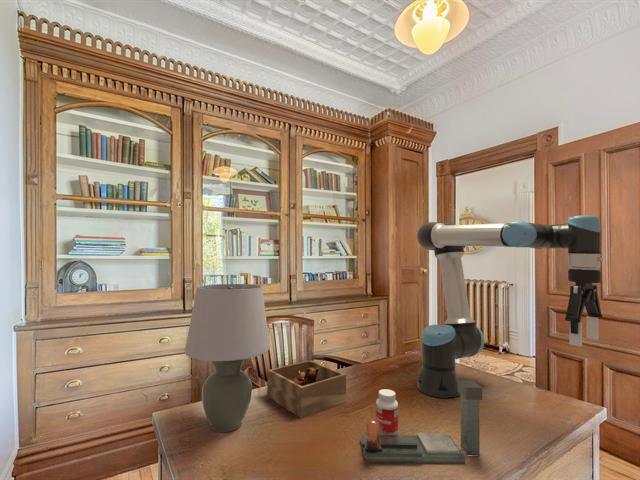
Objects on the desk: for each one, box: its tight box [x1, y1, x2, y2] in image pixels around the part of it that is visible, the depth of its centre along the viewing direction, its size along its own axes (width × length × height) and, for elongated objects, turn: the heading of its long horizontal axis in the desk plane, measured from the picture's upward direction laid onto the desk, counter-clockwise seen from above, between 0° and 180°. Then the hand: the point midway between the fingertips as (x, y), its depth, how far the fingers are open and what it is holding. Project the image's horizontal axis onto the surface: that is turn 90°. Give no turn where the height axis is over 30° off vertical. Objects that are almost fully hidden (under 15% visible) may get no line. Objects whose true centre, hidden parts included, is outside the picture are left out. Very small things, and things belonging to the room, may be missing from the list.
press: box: [360, 379, 483, 464], centre depth 85 cm, size 30×10×17 cm, turn 91°
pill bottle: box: [375, 388, 399, 435], centre depth 94 cm, size 6×6×11 cm
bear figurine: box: [293, 368, 319, 386], centre depth 115 cm, size 14×15×12 cm
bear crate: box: [266, 359, 347, 419], centre depth 115 cm, size 20×19×9 cm
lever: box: [364, 417, 382, 452], centre depth 82 cm, size 4×3×7 cm
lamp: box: [184, 283, 271, 433], centre depth 98 cm, size 24×24×40 cm
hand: (584, 342), depth 97 cm, fingers open, 13 cm apart
